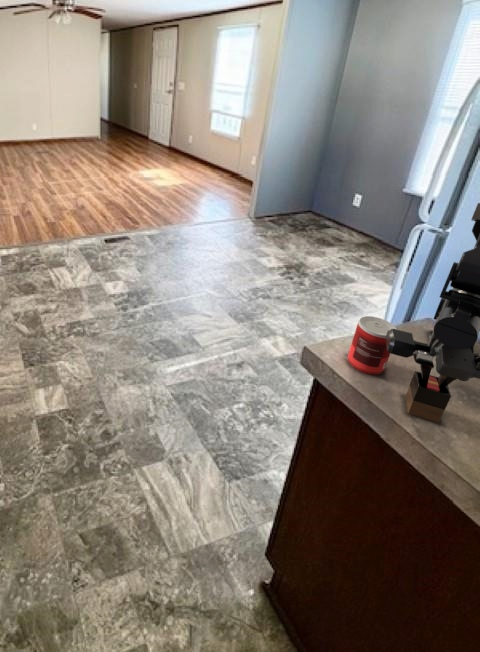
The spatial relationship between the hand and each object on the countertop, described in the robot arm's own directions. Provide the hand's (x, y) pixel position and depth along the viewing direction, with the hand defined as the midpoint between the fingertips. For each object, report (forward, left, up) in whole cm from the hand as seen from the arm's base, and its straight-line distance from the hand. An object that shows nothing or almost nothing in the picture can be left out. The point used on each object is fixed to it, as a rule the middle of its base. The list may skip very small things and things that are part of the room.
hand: (430, 388), depth 85 cm
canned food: (-11, -10, -6) cm, 16 cm away
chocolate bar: (0, 0, -1) cm, 1 cm away
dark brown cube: (0, 0, -6) cm, 6 cm away
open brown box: (0, 0, -2) cm, 2 cm away
